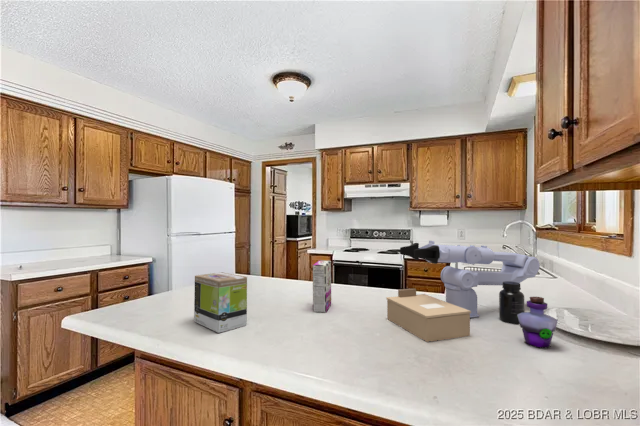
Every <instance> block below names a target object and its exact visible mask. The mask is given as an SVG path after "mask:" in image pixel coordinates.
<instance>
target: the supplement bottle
mask: <svg viewBox="0 0 640 426" xmlns="http://www.w3.org/2000/svg"><path fill="white" fill-rule="evenodd" d="M501 286H502V289H501V290H500V291H499V293H498V310H499V312H498V313H499V314H498V316H499V319H500V321H502V322H503V323H507V324H511V325H520V323H519V320H518V316H517V315H518V314H520V313H522V312H525V294H524V292H522V291H521V290H522V288H521V282H520V283H517V282H511V281H505V282H503V285H501Z"/></svg>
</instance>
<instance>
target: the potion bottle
mask: <svg viewBox="0 0 640 426" xmlns="http://www.w3.org/2000/svg"><path fill="white" fill-rule="evenodd" d="M544 300H545V298H544V297H542V296H530V297H529V300H527V301H526V307H527V308H529V311H526V312H525V311H524V312H522V313H520V314H518V315H517V316H518V320H519V323H520V324H519V327H520V329H521V331H522V335H523V339H524V343H525V344H526V345H527V346H530V347H533V348H536V349H547V350H548V349H550V348H551V347H552V345H551V343H552V339H553V337H554V332H556V328H557V325H558V322H559V321H558V319H557V318H555V317H553V316H551V315H549V314H545V310H547V309H548V303H547V302H545V301H544Z"/></svg>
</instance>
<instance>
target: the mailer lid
mask: <svg viewBox="0 0 640 426" xmlns="http://www.w3.org/2000/svg"><path fill="white" fill-rule="evenodd" d="M397 292H398V293H397V295H396V296H389V297H385V298H386V300H389V301H391V302H393V303H395V304H397V305H399V306H401V307H404V308H406V309H408V310H410V311H412V312H414V313H416V314H418V315H420V316H422V317H425V318H435V317H443V316H452V315H460V314H469V313H471V311H469V310H467V309H464V308H461V307H458V306H456V305H453V304H450V303H448V302H446V300H445V301H444V300H441V299H439V298H437V297H433V296H432V295H431V296H430V295H428V294H425V293H421V294H417V288H402V289H398V290H397Z"/></svg>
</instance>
